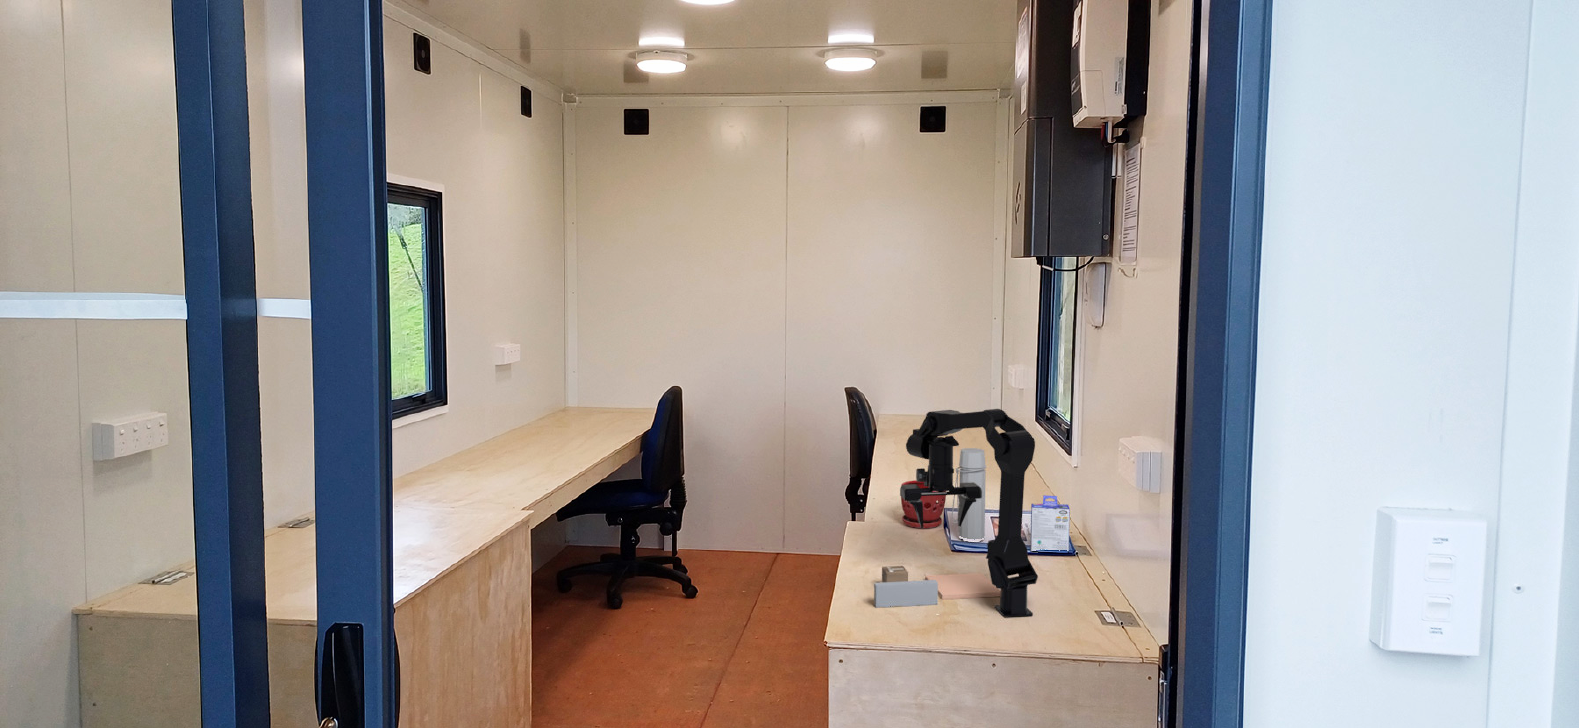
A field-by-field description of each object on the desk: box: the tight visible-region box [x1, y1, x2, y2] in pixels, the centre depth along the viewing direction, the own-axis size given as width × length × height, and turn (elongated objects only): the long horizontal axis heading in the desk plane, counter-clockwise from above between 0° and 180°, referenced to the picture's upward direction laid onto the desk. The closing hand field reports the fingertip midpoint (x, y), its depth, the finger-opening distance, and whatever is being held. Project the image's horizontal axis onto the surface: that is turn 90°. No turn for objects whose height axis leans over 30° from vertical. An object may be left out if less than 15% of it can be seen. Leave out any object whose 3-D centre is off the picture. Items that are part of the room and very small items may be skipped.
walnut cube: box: [881, 565, 909, 583], centre depth 224 cm, size 5×5×5 cm
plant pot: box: [900, 480, 947, 529], centre depth 280 cm, size 13×13×12 cm
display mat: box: [924, 572, 1000, 600], centre depth 225 cm, size 14×14×1 cm
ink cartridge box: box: [1030, 495, 1071, 552], centre depth 254 cm, size 10×6×14 cm, turn 78°
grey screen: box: [873, 579, 939, 609], centre depth 214 cm, size 2×14×5 cm, turn 98°
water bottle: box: [951, 447, 987, 540], centre depth 264 cm, size 9×8×25 cm
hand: (940, 526), depth 231 cm, fingers open, 9 cm apart
